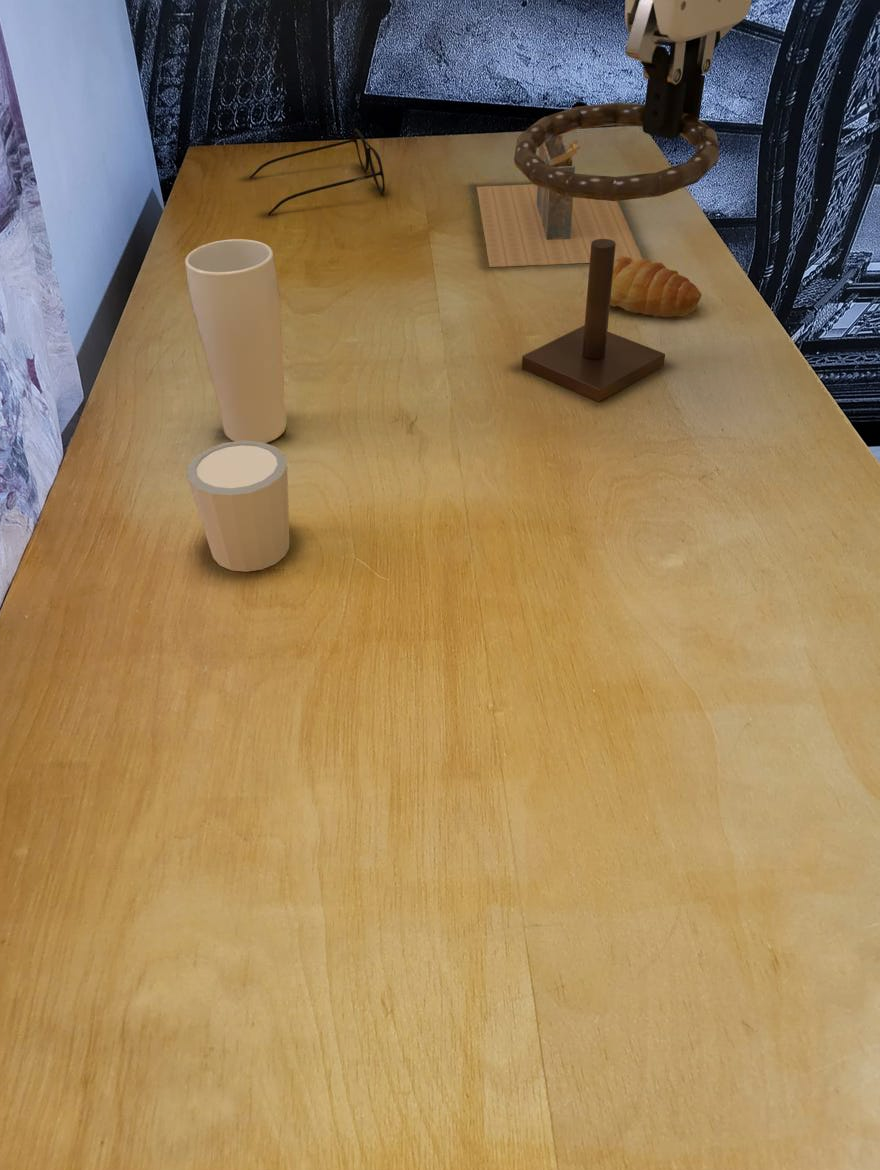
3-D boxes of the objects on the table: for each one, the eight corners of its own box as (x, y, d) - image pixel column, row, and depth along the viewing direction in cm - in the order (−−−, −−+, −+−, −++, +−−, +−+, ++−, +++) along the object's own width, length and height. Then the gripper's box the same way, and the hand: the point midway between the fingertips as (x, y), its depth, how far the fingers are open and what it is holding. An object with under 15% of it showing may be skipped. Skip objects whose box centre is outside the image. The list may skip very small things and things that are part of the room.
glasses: (388, 198, 128) (381, 157, 124) (271, 229, 127) (261, 188, 123) (360, 163, 138) (354, 123, 135) (252, 191, 137) (243, 152, 133)
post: (586, 335, 98) (596, 214, 91) (664, 366, 93) (681, 241, 86) (521, 368, 94) (526, 244, 87) (599, 402, 89) (611, 274, 81)
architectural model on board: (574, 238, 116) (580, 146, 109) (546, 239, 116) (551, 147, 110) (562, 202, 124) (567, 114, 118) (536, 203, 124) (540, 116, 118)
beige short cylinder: (184, 549, 76) (165, 467, 71) (258, 509, 79) (245, 428, 74) (242, 590, 72) (227, 506, 67) (317, 546, 75) (307, 462, 71)
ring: (599, 106, 87) (601, 86, 86) (759, 151, 79) (763, 130, 78) (473, 167, 81) (472, 146, 80) (632, 224, 73) (634, 201, 71)
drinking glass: (203, 449, 86) (169, 271, 76) (232, 408, 91) (203, 236, 81) (281, 456, 84) (256, 276, 74) (306, 414, 89) (286, 240, 79)
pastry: (710, 302, 103) (716, 264, 100) (680, 328, 99) (686, 290, 96) (623, 282, 107) (627, 245, 104) (592, 307, 103) (595, 269, 100)
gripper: (681, -144, 65) (646, 167, 77) (818, -168, 72) (766, 118, 85) (587, -149, 69) (568, 146, 81) (726, -172, 76) (689, 101, 89)
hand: (669, 130), depth 83 cm, fingers closed on ring, 1 cm apart
